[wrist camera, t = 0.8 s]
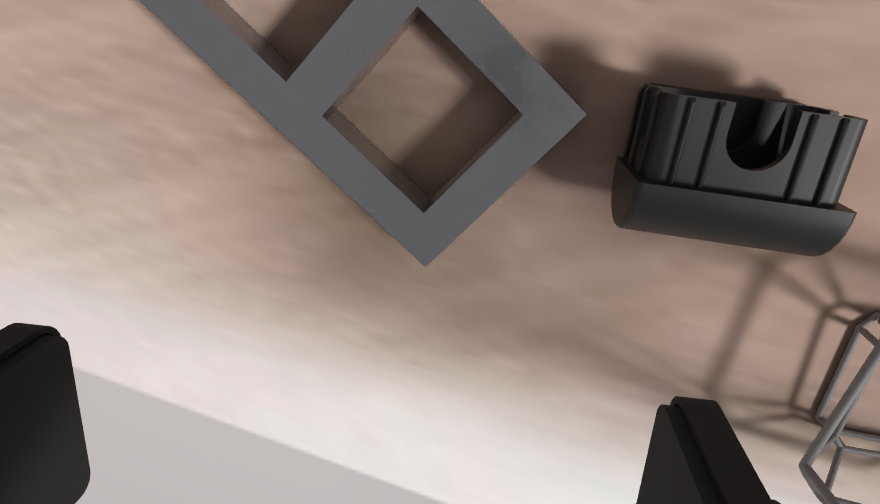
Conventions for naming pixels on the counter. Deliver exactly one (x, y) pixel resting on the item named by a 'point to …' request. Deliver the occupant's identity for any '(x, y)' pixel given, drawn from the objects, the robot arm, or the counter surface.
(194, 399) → the counter surface
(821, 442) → the geometric lantern
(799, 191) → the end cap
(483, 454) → the counter surface
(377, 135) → the counter surface
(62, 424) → the robot arm
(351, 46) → the grey windowed frame
